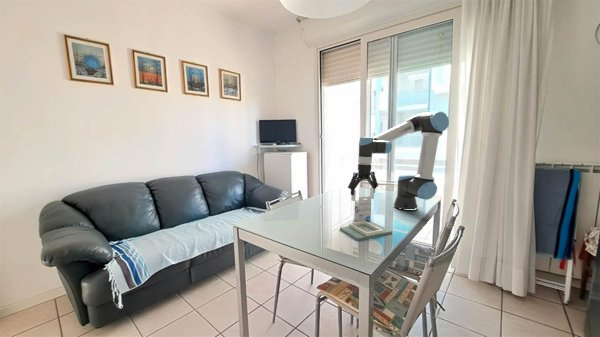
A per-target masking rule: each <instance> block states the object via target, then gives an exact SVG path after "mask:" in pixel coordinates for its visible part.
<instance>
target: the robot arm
mask: <svg viewBox="0 0 600 337" xmlns="http://www.w3.org/2000/svg"><path fill="white" fill-rule="evenodd" d="M449 125H450V120H449V116H448V115H447V113H445V112H444V111H435V110H434V111H429V112H421V113H418V114H416V115H413V116H411V117H409V118H407V119H405V120H404V121H403V122H402V123H401V124H398V125H396V126H394V127H392V128H390V129H388V130H385V131H384V132H381V133H380V134H378V135H376V136H373V137H371V136H361V137H359V141H358V164H357V170H358V171H357V172H355V171H354V172H353V173H352V174H353V175H352V177H351V180H350V182H349V184H348V186H347V188H348V189H349V190H350V197H351V198H350V200H351V201H352V202H355V200H356V196H357V195H356V194H357V192H356V188H357V187H358V185H359V184H360V182H362V181H367V182H368V183H369V185H370V191H369V197H370V196H371V200H374V199H375V192H376V189H377V187H379V184H378V181H377V178H376V174H375V173H376V171H372V162H373V160H372V159H373V155H374V154H375V155H376V154H377V155H378V154H382V155H383V154H389V153H391V152H392V149H393V145H392V143H391V142H394V141H395V140H398V139H400V138H401V137H403V136H406V135H408V134H410V135H411V134H414V133H416V132H421V133H420V134H421V135H422V143H421V148H420V149H421V150H420V154H419V160H418V166H417V173H416V174H406V175H405V174H401V175H399V176H398V178H397V192H396V194H397V195H396V197H395V201H394V203H393V207H394V206H395V207H397V208H401V209H415V208H417V207H418V203H417V199H416V198H418V199H421V200H425V201H427V200H431V199H432V198H434V197H435V195H436V194H437V192H438V186H437V184H436V183H435V177H434V176H433V174H434V167H435V161H436V155H437V150H438V143H439V140H440V139H439V138H440V137H441V136H442V135H443V132H444V131H446V130H447V129H448V127H449ZM395 207H394V208H395ZM418 208H419V207H418ZM418 208H417V209H418Z"/></svg>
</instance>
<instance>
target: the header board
mask: <svg viewBox="0 0 600 337" xmlns="http://www.w3.org/2000/svg"><path fill="white" fill-rule="evenodd" d="M348 224H349V225H346V226H342V227H339V230H340V231H341V232H342V233H344V234H345V235H347V236H349V237H351V238H352V239H354V240H356V241H357V242H359V241H363V240H368V239H373V238H377V237H381V236H387V235H390V234H391V235H392V233H393V230H391V229H388V228H386V227H384V226H382V225H380V224H378V223H376V222H374V221H370V222H369V221H360V222H358V221H356V222H355V221H354V222H350V223H348Z"/></svg>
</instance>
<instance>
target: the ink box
mask: <svg viewBox="0 0 600 337" xmlns="http://www.w3.org/2000/svg"><path fill="white" fill-rule="evenodd" d="M358 197H359V196H358ZM371 217H372V199H371V196H370V195H369V196H361V197H359V198H358V199H357V200H356V199H355V201H354V220H355V221H356V222H361V221H366V222H369V221H371Z"/></svg>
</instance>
